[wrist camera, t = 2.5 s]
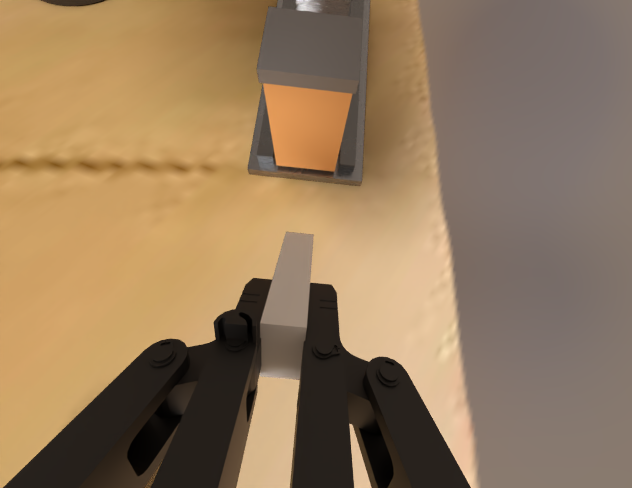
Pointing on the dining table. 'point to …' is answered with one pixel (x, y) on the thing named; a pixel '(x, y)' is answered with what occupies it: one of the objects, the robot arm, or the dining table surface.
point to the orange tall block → (309, 83)
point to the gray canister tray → (350, 157)
